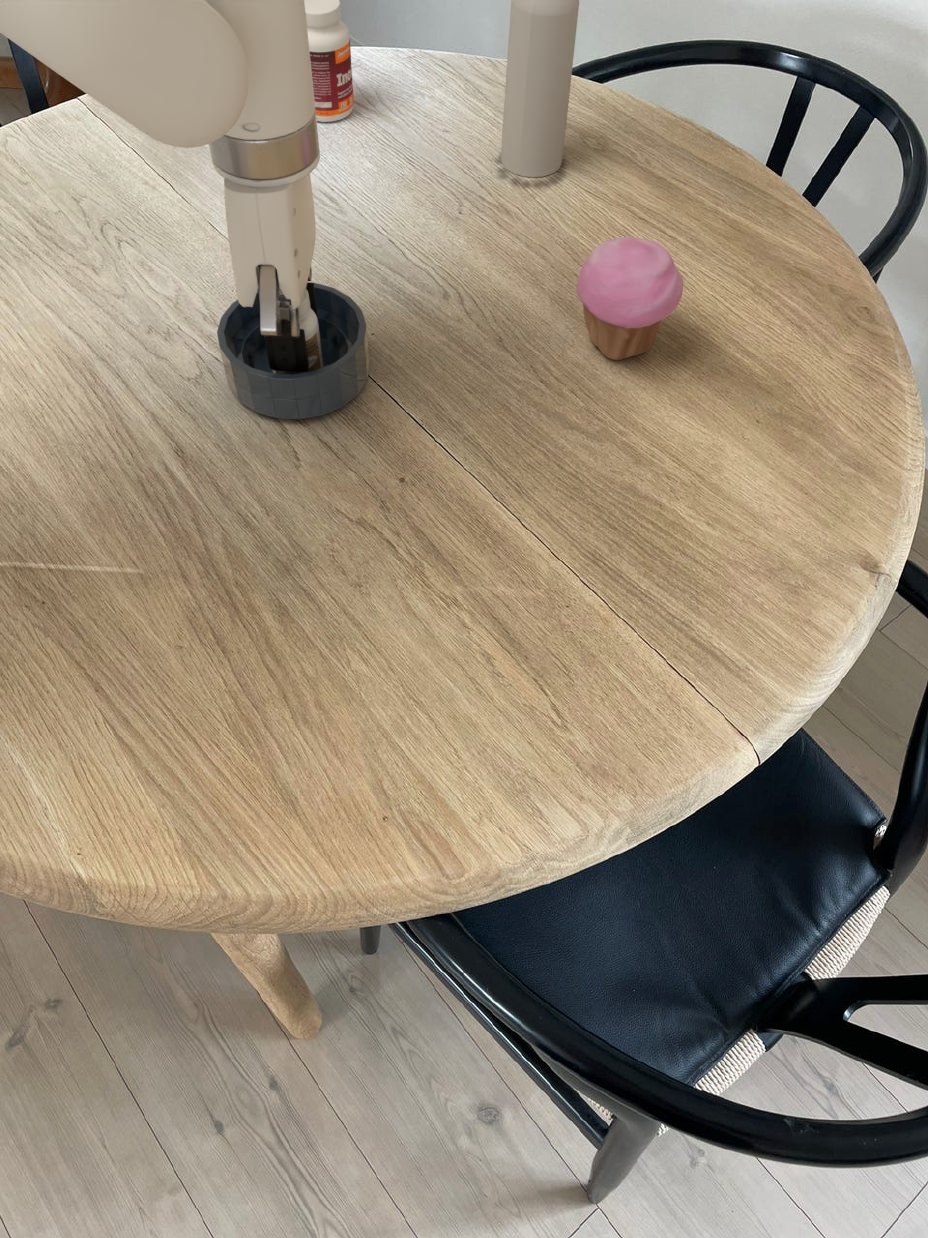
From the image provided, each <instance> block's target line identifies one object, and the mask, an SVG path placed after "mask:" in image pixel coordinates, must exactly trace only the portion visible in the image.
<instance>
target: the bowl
mask: <svg viewBox="0 0 928 1238" xmlns="http://www.w3.org/2000/svg"><path fill="white" fill-rule="evenodd" d="M307 283H314V289H315V297H316V305H317V314H318V325H319V334H320V343H321V351H322V359H323V368H321V369H318V370H316V371H311V372H305V373H299V374H274V373H273V371H272V369H271V368H270V367H269V362H268V356H267V351H266V345H265V340H264V336H263V335H261V331H260V300H259V289H258V291H257V294H256V297H255V301H254V304H253V307H243V306H242V305H241V304H240V303H239V301H238V299H235V301H233V302H232V303H231V304H230V305H229V307H228V308H227V309H226V310H225V311H224V313H223V314H222V315H221V317H220V320H219V324H218V327H217V330H216V335H217V341H218V345H219V350H220V354H221V359H222V364H223V367H224V371H225V376H226V380H227V385H228V388H229V390H230V391H231V392H232V394H233V395H234V396H235V397H236V399H237V400H238V401H239V403H241V404H243V405H244V406H245V407H247V408H249V409H250V410H252V411H253V412H255V413H257V414H260V415H261V414H262V415H264V416H268V417H270V418H274V419H285V420H287V419H288V420H303V419H304V420H305V419H309V418H315V417H320V416H324V415H328V414H329V413H331V412H334V411H336V410H339V409H341V408H343V407H344V406H345V405H347V404H348V403H349V402H351V401H352V400H353V399H354V398H356V397H357V396H358V395H359V393H360V392H361V390H362V389H363V387H364V386H365V384H366V383H367V382H368V378H369V371H370V352H369V351H370V350H369V339H368V337H369V336H368V324H367V322H366V318H365V315H364V313H363V310H362V309H361V307H360V306H359V305H358V304H357V302H355V301H354V299H352V297H351V296H349V295H347V294H346V293H344V292H342V291H341V290H338V289H336V288H334V287H332V286H328V285H325V284H321V283H317V282H314V281H313V282H312V281H307Z"/></svg>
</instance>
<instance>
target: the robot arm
mask: <svg viewBox="0 0 928 1238" xmlns="http://www.w3.org/2000/svg"><path fill="white" fill-rule="evenodd" d="M0 34H1V35H3V37H6V38H7V39H9V40H10V41H11V42H13V43H14V44H15V45H17V46H19V47H20V48H21V49H22V50H24V51H25V52H27V53H28V54H29V55H31V56H32V57H34V58H35V59H36V60H38V61H39V62H41V63H42V64H43V65H45V66H46V67H48V68H49V69H50V70H52V71H53V72H55V73H56V74H57V75H59V76H60V77H62V78H64V80H66V81H67V82H69V83H70V84H72V85H74V86H75V87H76V88H77V89H79V90H80V91H82V92H83V93H85V94H86V95H87V96H90V97H91V98H92V99H94V100H95V101H96V102H98V103H100V104H101V105H103V107H105V108H107V109H108V110H110V112H113V113H114V114H116V115H117V116H118V117H119V118H121V119H123V120H124V121H125V122H127V123H129V124H130V125H132V126H133V127H135V128H136V129H138V131H140V132H142V133H143V134H145V135H146V136H148V137H149V138H151V139H152V140H154V141H156V142H159V143H161V144H164V145H168V146H171V147H174V148H183V149H191V148H192V149H193V148H200V147H204V146H207V145H208V149H209V153H210V156H211V162H212V163H211V164H212V166H213V168H214V170H215V171H216V173H218V175H220V176H221V177H222V178H223V179H224V180H223V186H224V208H225V221H226V229H227V236H228V245H229V252H230V259H231V267H232V271H233V278H234V283H235V284H234V286H235V291H236V297H237V300H238V301H239V303H240V304H241V305H242V306H243V307H253V304H254V301H255V297H256V294H257V291H258V289H259V300H260V331H261V335H263V336H264V340H265V345H266V351H267V356H268V362H269V367H270V368H271V369H272V370H276V371H295V372H306V371H308V367H309V361H308V354H307V347H306V340H305V332H304V329H300V324H299V310H298V307H299V306H300V305H301V304H302V301H303V298H304V294H305V290H306V289H307V291H308V294H309V300H310V308H311V309H312V310H313V311H314V313H315V314H316V316H317V319H318V314H317V305H316V297H315V289H314V283H315V282H313V283H307V282H312V279H313V270H312V262H313V257H314V251H315V246H316V237H317V229H316V227H317V226H316V224H317V223H316V212H315V203H314V201H315V200H314V194H313V186H312V185H313V184H312V178H311V173H312V172H313V171H314V170H315V169H316V167H317V166H318V164H319V163H320V159H321V151H320V142H319V141H320V139H319V130H318V121H317V120H316V110H315V100H314V90H313V81H312V71H311V61H310V51H309V42H308V32H307V22H306V12H305V2H304V0H0ZM279 291H282V293H283V294H284V295H279ZM279 308H289V317H290V321H289V320H287V319H280V314H279Z"/></svg>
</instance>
